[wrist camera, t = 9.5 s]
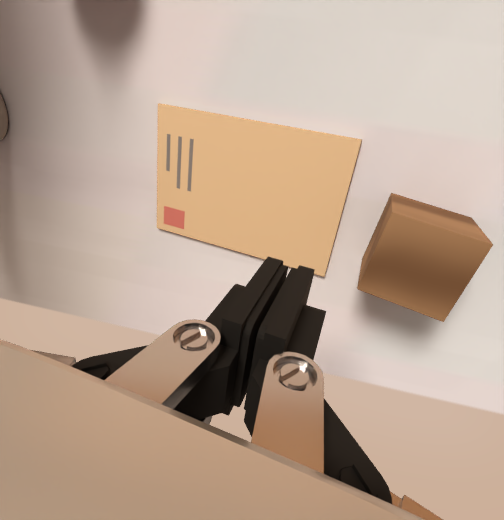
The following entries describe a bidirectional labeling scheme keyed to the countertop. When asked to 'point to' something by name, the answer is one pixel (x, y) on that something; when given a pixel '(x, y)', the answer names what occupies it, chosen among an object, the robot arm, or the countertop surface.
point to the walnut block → (422, 256)
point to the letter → (252, 185)
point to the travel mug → (3, 119)
